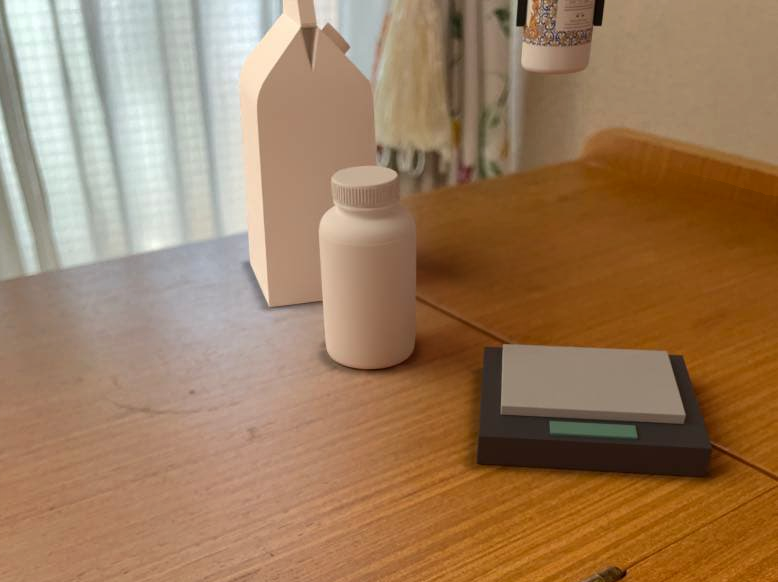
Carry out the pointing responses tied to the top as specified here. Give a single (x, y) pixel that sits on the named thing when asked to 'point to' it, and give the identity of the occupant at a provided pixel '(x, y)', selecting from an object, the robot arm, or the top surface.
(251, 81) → the milk
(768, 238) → the top surface
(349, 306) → the pill bottle
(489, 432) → the scale
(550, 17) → the bath foam
